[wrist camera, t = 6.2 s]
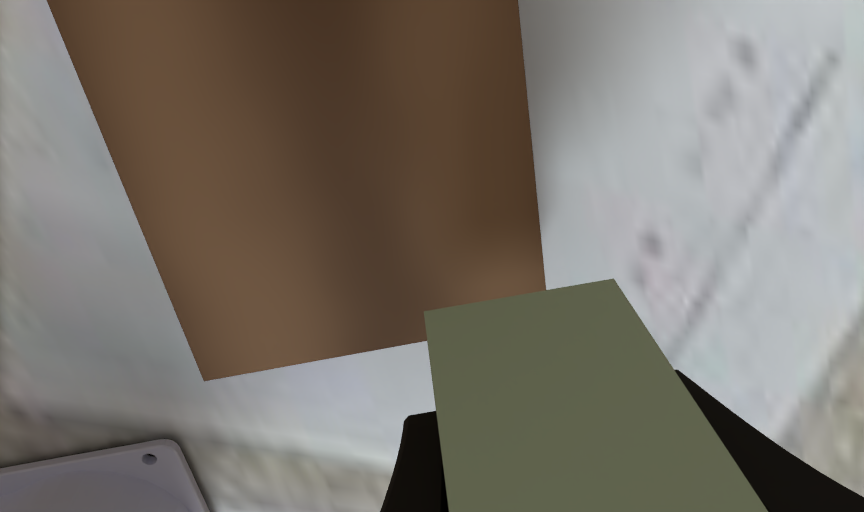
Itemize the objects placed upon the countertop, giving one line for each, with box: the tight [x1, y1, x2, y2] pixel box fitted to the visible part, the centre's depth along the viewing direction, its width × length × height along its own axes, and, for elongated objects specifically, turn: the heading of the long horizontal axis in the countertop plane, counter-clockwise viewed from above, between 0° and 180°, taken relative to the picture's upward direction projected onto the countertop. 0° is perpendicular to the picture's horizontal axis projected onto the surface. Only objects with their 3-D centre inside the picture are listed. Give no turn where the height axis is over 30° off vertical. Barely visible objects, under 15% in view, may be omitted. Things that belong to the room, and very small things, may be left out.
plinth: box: [47, 0, 546, 381], centre depth 17 cm, size 10×12×3 cm
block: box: [424, 279, 768, 512], centre depth 11 cm, size 4×4×7 cm
